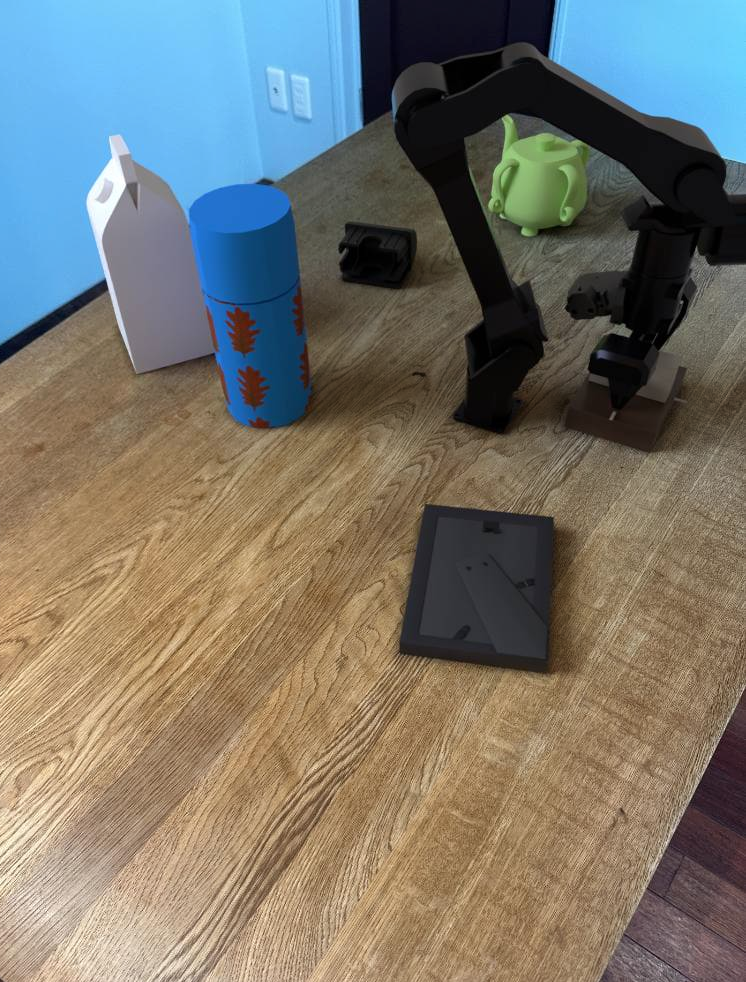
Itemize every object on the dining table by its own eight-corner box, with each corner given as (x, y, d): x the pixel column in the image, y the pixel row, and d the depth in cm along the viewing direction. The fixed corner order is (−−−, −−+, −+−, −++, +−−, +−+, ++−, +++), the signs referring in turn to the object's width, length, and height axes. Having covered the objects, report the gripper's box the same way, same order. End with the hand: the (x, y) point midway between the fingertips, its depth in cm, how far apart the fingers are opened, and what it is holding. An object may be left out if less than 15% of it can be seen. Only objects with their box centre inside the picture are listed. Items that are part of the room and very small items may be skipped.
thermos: (300, 433, 97) (276, 236, 78) (215, 425, 99) (172, 231, 80) (320, 377, 104) (302, 184, 85) (240, 371, 106) (205, 180, 87)
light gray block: (670, 392, 93) (682, 354, 90) (664, 403, 92) (676, 365, 88) (594, 370, 97) (603, 333, 93) (588, 380, 96) (596, 343, 92)
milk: (220, 351, 109) (181, 154, 89) (136, 374, 106) (77, 177, 87) (197, 306, 116) (156, 115, 97) (118, 326, 114) (60, 135, 95)
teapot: (466, 230, 126) (471, 148, 117) (496, 190, 134) (503, 109, 125) (568, 249, 121) (582, 164, 112) (593, 205, 129) (608, 122, 120)
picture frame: (545, 673, 73) (551, 529, 85) (548, 660, 72) (554, 514, 83) (399, 653, 76) (424, 515, 87) (399, 640, 74) (424, 501, 85)
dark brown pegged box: (663, 457, 91) (670, 436, 88) (550, 423, 96) (554, 402, 93) (694, 391, 98) (701, 369, 96) (588, 362, 103) (592, 341, 101)
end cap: (417, 264, 120) (417, 221, 115) (402, 290, 116) (403, 246, 111) (353, 256, 123) (351, 213, 118) (337, 280, 119) (334, 237, 114)
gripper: (612, 209, 91) (588, 329, 103) (551, 289, 81) (531, 413, 92) (715, 230, 87) (677, 353, 98) (664, 317, 76) (628, 443, 88)
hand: (628, 388), depth 94 cm, fingers open, 8 cm apart
